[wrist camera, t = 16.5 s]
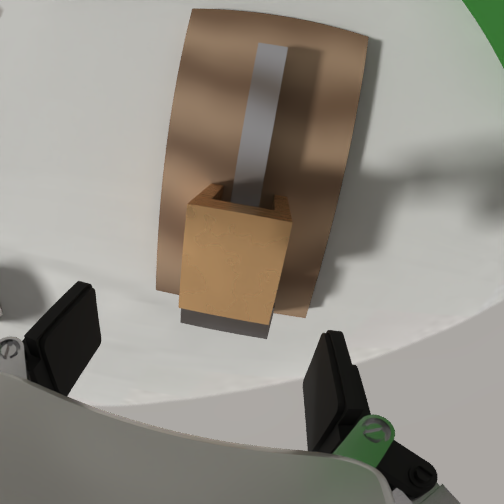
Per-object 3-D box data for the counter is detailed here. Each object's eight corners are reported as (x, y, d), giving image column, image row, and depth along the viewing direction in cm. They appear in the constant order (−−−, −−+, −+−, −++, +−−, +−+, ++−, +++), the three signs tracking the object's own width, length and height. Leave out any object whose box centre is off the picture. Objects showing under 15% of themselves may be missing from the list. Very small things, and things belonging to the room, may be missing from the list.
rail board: (196, 14, 19) (178, -11, 14) (363, 41, 19) (384, 21, 14) (161, 282, 29) (140, 313, 24) (304, 309, 29) (309, 345, 24)
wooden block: (211, 183, 23) (187, 203, 17) (287, 197, 23) (292, 222, 17) (200, 264, 26) (178, 307, 20) (270, 277, 26) (268, 324, 20)
